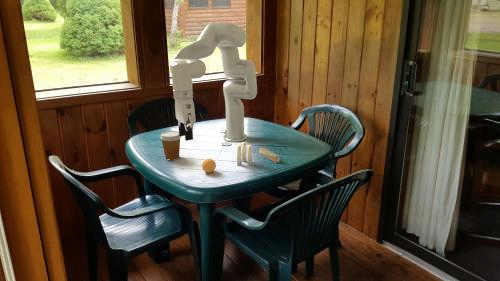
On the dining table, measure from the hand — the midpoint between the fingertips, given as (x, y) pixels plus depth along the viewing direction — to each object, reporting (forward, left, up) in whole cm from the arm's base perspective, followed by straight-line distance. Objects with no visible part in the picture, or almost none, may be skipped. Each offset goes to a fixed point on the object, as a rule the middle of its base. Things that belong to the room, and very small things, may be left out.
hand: (186, 137), depth 164 cm
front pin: (+12, +21, -18) cm, 30 cm away
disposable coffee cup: (-20, +14, -18) cm, 30 cm away
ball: (+5, +8, -15) cm, 17 cm away
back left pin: (+12, +26, -18) cm, 34 cm away
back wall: (+20, +35, -18) cm, 44 cm away
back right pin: (+16, +23, -18) cm, 34 cm away
